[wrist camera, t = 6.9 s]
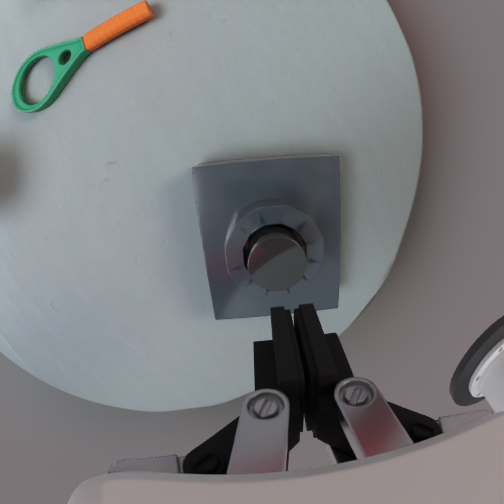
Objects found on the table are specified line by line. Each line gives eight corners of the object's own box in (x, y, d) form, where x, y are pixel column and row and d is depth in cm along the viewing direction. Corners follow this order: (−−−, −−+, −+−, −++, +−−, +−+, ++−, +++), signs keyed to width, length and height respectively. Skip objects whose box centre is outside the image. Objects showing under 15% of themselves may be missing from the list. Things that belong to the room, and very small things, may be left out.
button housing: (327, 153, 22) (348, 157, 17) (329, 290, 26) (344, 321, 22) (198, 164, 22) (185, 170, 17) (218, 301, 26) (213, 334, 22)
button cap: (300, 224, 19) (306, 234, 17) (302, 274, 21) (307, 288, 19) (244, 229, 19) (244, 239, 17) (250, 279, 21) (250, 294, 19)
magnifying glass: (25, 125, 20) (14, 126, 18) (14, 76, 18) (4, 75, 16) (162, 39, 18) (157, 33, 17) (144, -11, 16) (138, -18, 14)
